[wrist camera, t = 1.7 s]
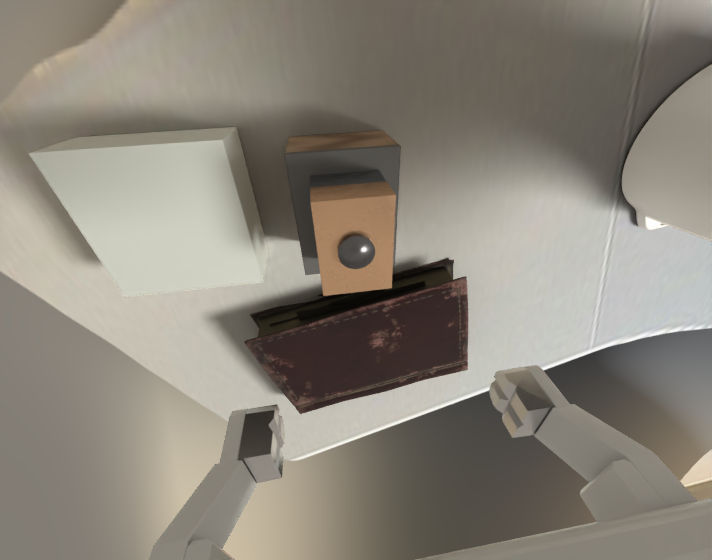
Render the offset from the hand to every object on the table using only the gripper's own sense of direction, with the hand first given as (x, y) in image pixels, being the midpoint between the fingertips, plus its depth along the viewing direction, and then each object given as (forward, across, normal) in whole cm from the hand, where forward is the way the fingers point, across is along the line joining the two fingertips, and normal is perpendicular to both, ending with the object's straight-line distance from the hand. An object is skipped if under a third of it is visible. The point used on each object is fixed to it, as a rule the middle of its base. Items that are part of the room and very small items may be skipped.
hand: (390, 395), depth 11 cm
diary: (+22, -2, +20) cm, 30 cm away
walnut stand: (+21, 0, 0) cm, 21 cm away
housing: (+15, 0, 0) cm, 15 cm away
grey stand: (+22, +14, 0) cm, 25 cm away
